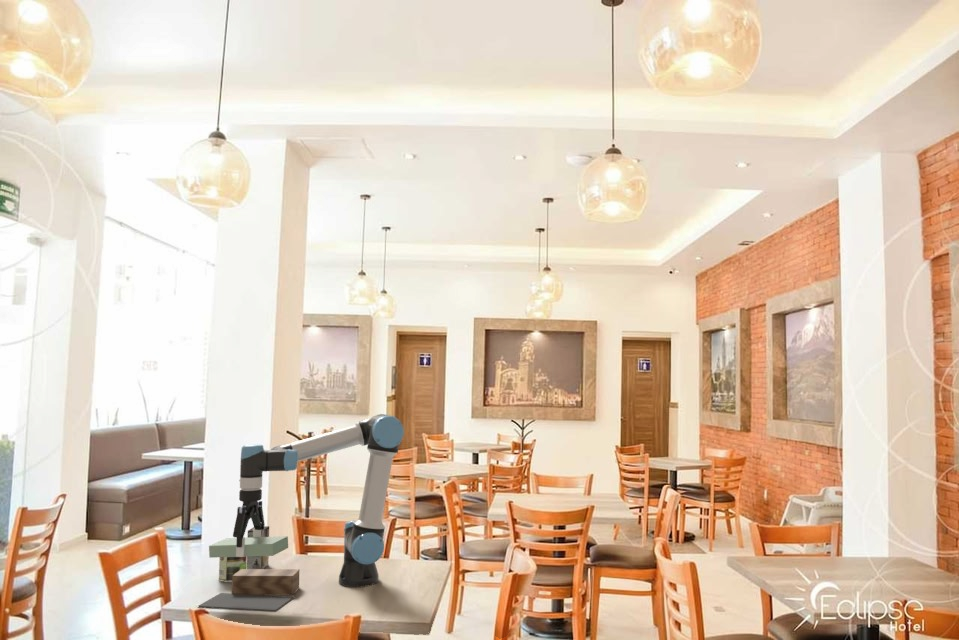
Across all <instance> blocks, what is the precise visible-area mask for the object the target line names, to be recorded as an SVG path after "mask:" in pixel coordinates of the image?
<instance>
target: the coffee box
mask: <svg viewBox="0 0 959 640" xmlns="http://www.w3.org/2000/svg"><path fill="white" fill-rule="evenodd" d="M253 530H256V529H255V528H254V526H253V527H252V528H250V529H248V530H247V538H252V537H253ZM261 537H270V526H269V525H268V526H267V525H266V526H265V525H264V529H263V530H261ZM269 557H270V556H250V557H247V560H246V569H266V567H268V566H269Z"/></svg>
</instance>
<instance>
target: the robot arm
mask: <svg viewBox="0 0 959 640" xmlns="http://www.w3.org/2000/svg"><path fill="white" fill-rule="evenodd" d="M404 435H405V430H404V426H403V424H402V422H401V421H400V420H399V419H398V418H397V417H396V416H394V415H390V414H383V413H380V414H376V415H373V416H371V417H369V418H366V419H363V420H359V421H357V422H356V423H355V424H354V425H352V426H347V427H345V428H342V429H337V430H333V431H330V432H326V433H323V434H319V435H315V436H312V437H309V438H305V439H301V440H298V441H294V442H291V443H288V444H284V445H276V446H274V447H272V448H271V449H264V445H263V444H258V443H257V444H251V443H250V444H245V445H243V446H242V447H241V449H240V450H241V451H240V452H241V453H240V467H239V468H240V469H239V470H240V471H239V472H240V475H239V477H240V478H239V489H240V490H239V495H238V496H239V501H240V502H242V506H238V507H237V509H236V511H237V513H236V518H235V523H234V527H233V533H232V538H237V541H236V557H244V553H245V538H246V537H245V533H246V530H247V527H248V523H249V520H251V522H252V525H253V527H254V528H255V529H256V530H253V537H261V530H263V529H264V526H265V518H264V511H263V501H262V498H263V492H262V491H263V490H262V489H261V488H263V472H291V471H296V470H297V468H298V463H299V462H301V461H306V460H309V459H313V458H316V457H320V456H323V455H327V454H331V453H334V452H337V451H340V450H345V449H348V448H351V447H355V446H358V445H360V446H362V447H365V446H367V447H366V448H367V450H368V453H369V458H368V465H367V469H366V476H365V482H364V488H363V493H362V498H361V503H360V510H359V516H358V518H357V519H356V520H349V521H346V522H345V523H344V529H343V531H344V536H343V538H344V539H343V542H344V543H343V544H344V545H343V563H342V566H341V569H340V572H339V576H338V584H339V585H341V586H344V587H351V588H352V587H353V588H359V587H360V588H361V586H362V587H368V585H369V586H373V585H375V584H377V583H378V582H379V581H378V580H379V578H380V577H379V572H378V569H377V565H376V562H377V561H379V560H380V558H382V556H383V553H384V551H385V543H384V535H385V529H386V527H385V525H384V523H383V517H384V516H383V515H384V512H385V511H384V509H385V505H386V499H387V493H388V487H389V483H390V482H389V481H390V474H391V470H392V463H393V459H394V457H395V456H396V455H397V454H399V447H400V443H401V442H402V440H403V438H404ZM376 582H377V583H376ZM372 584H373V585H372Z"/></svg>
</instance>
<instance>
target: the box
mask: <svg viewBox="0 0 959 640" xmlns="http://www.w3.org/2000/svg"><path fill="white" fill-rule="evenodd" d="M299 588H300V569H299V568H296V569H294V568H286V569H285V568H284V569H283V568H280V569H279V568H278V569H277V568H272V569H271V568H268V569H267V568H264V569H247V568H246V569H241V570H239V571H238V572H237V573H235V574H234V575H233V576H232V582H231V593H233V594H253V595H272V596H293V595H294V594H295V593H296V592H297V591H298V590H299ZM297 589H298V590H297ZM296 590H297V591H296Z"/></svg>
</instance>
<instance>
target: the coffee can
mask: <svg viewBox="0 0 959 640" xmlns="http://www.w3.org/2000/svg"><path fill="white" fill-rule="evenodd" d="M218 561H219V563H218V566H219V567H218V581H219V580H220V581H219V582H221V581H227V582H226V583H232V576H233V575H234V574H235V573H237V572H238V571H239V570H241V569H247V557H219V560H218Z"/></svg>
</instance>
